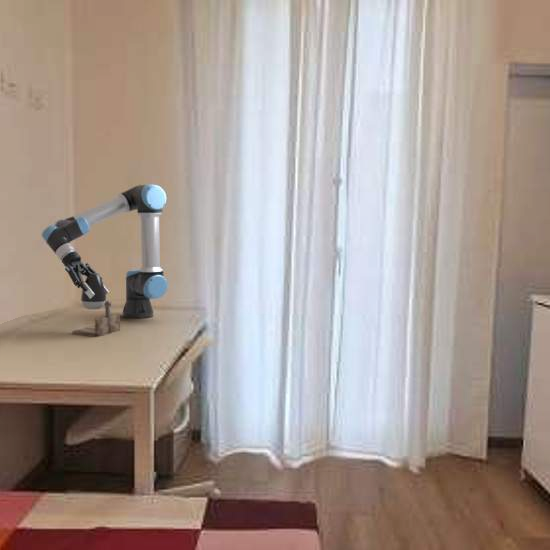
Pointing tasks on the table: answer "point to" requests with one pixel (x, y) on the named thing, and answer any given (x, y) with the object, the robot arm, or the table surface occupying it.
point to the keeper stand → (102, 324)
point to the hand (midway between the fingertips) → (99, 295)
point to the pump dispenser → (97, 288)
